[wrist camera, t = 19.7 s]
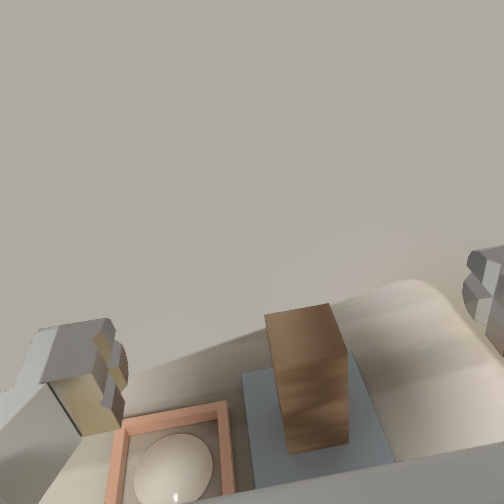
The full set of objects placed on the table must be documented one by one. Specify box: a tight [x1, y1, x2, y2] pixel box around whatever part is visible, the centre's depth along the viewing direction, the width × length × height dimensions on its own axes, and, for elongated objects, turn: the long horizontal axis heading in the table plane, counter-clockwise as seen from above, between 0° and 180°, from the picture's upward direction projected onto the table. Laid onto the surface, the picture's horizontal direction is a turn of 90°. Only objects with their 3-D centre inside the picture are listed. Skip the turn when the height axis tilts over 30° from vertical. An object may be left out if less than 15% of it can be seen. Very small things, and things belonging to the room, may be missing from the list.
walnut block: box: [265, 303, 349, 455], centre depth 32 cm, size 4×4×10 cm
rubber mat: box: [241, 353, 396, 489], centre depth 35 cm, size 10×12×1 cm
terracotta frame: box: [104, 400, 236, 504], centre depth 33 cm, size 9×9×1 cm
